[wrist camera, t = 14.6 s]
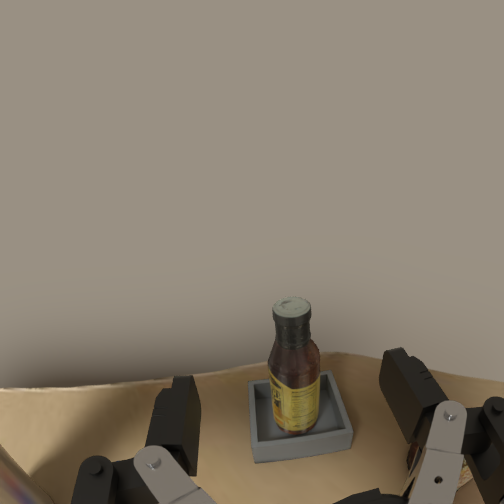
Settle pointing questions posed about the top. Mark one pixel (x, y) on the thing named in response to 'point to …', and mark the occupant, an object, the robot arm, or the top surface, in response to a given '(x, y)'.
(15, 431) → the top surface
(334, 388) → the box
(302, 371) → the sauce bottle
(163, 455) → the robot arm
